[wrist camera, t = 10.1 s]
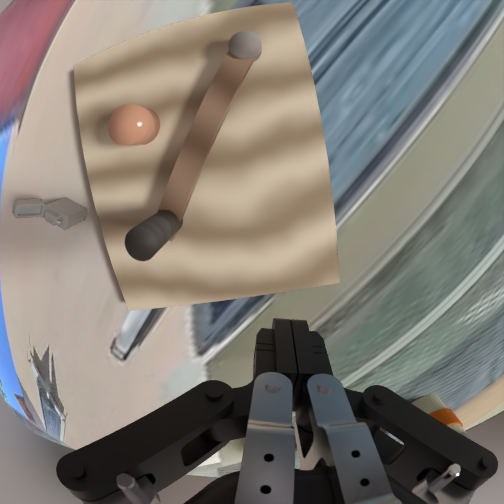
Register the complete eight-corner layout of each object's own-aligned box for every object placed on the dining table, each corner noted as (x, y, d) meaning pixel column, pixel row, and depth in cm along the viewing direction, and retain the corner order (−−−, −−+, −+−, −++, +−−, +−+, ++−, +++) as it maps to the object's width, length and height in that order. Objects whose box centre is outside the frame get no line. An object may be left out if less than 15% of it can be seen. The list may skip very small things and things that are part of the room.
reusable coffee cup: (452, 379, 40) (484, 433, 26) (437, 416, 44) (460, 464, 30) (397, 400, 41) (423, 463, 27) (388, 434, 45) (405, 489, 31)
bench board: (82, 68, 25) (73, 65, 23) (291, 10, 22) (292, 2, 21) (134, 303, 35) (128, 310, 33) (335, 275, 33) (339, 282, 31)
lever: (238, 34, 22) (230, -3, 14) (266, 44, 22) (268, 8, 15) (153, 227, 29) (119, 253, 21) (178, 238, 29) (151, 268, 22)
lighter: (87, 209, 31) (49, 226, 24) (84, 221, 32) (46, 240, 24) (50, 188, 30) (11, 200, 23) (48, 200, 31) (9, 214, 23)
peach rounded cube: (123, 115, 25) (105, 111, 22) (156, 103, 25) (142, 97, 21) (129, 149, 27) (111, 150, 23) (163, 139, 26) (148, 138, 23)
